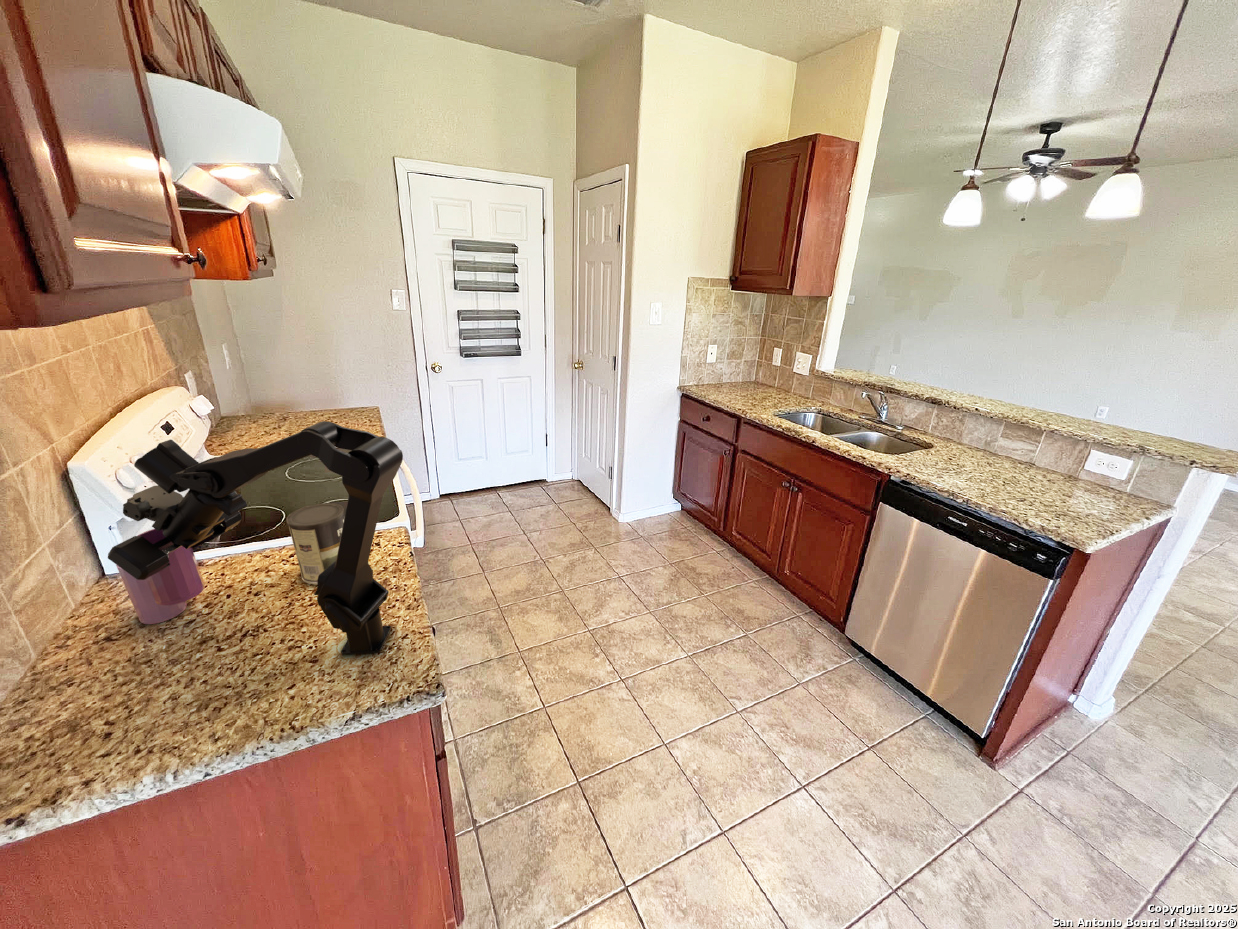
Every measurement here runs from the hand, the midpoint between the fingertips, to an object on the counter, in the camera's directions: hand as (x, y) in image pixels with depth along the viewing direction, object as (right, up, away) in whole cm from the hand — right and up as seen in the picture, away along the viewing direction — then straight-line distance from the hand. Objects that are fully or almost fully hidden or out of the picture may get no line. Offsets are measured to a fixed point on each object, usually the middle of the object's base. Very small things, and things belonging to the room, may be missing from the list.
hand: (161, 561), depth 85 cm
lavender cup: (-7, -11, +8) cm, 15 cm away
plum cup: (+1, -6, +2) cm, 7 cm away
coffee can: (+17, -6, +21) cm, 28 cm away
